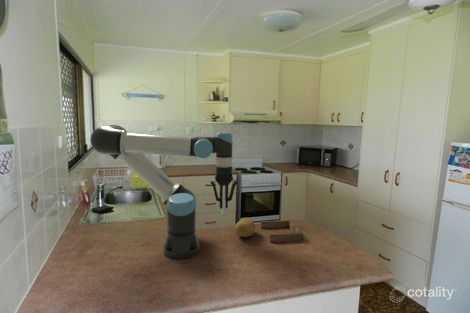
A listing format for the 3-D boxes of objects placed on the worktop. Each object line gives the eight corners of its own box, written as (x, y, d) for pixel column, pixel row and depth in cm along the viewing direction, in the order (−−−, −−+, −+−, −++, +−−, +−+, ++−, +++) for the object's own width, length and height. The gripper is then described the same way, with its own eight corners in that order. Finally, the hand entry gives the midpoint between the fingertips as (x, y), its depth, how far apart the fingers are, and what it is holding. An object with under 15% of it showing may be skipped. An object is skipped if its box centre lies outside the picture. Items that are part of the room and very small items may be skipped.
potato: (256, 230, 144) (256, 215, 143) (253, 242, 130) (253, 225, 129) (237, 229, 145) (237, 214, 144) (232, 240, 132) (232, 223, 131)
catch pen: (302, 240, 133) (303, 233, 133) (269, 242, 130) (270, 235, 130) (289, 226, 151) (289, 220, 150) (260, 227, 148) (260, 221, 148)
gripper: (236, 164, 136) (235, 211, 139) (209, 164, 134) (209, 212, 137) (239, 167, 129) (238, 216, 132) (210, 167, 127) (210, 218, 130)
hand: (223, 214), depth 135 cm, fingers closed
